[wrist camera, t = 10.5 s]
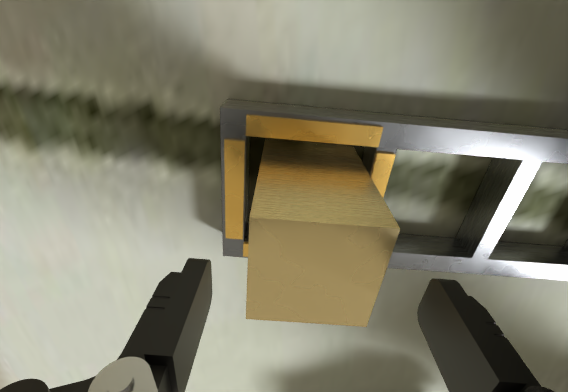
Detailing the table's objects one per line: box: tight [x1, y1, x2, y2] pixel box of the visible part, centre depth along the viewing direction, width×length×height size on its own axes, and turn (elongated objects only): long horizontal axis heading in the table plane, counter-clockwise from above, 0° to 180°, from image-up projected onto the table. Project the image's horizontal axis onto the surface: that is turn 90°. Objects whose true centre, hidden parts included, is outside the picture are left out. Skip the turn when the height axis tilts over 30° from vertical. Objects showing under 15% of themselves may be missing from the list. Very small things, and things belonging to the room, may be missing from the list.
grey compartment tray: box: [220, 99, 568, 281], centre depth 17 cm, size 24×9×2 cm, turn 85°
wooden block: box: [246, 139, 400, 327], centre depth 14 cm, size 5×5×8 cm
